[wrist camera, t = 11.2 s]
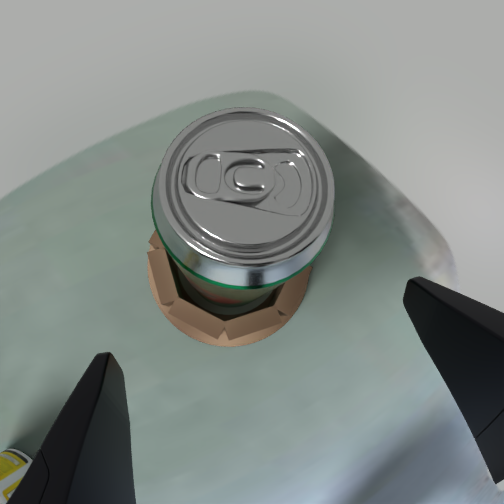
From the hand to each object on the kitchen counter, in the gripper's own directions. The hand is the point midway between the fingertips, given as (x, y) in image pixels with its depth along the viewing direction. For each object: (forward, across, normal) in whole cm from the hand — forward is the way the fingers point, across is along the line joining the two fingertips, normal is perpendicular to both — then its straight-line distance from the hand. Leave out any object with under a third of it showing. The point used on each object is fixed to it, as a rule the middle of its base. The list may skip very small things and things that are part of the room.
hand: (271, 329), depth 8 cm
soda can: (+10, 0, +5) cm, 11 cm away
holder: (+11, 0, +5) cm, 12 cm away
